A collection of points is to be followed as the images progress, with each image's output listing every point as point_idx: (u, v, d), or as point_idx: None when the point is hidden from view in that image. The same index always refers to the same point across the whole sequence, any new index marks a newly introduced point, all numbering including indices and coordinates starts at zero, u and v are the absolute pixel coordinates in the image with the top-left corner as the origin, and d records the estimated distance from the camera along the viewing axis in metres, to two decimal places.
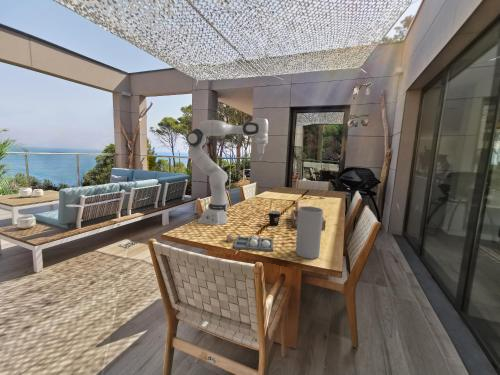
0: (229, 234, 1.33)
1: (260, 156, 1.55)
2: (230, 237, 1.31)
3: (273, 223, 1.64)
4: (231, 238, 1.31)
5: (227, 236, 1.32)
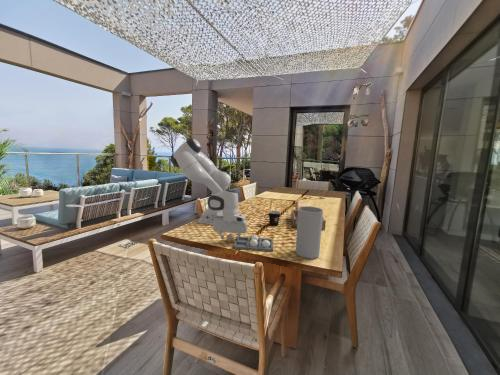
0: (229, 234, 1.33)
1: (239, 235, 1.32)
2: (230, 237, 1.31)
3: (273, 223, 1.64)
4: (231, 238, 1.31)
5: (227, 236, 1.32)
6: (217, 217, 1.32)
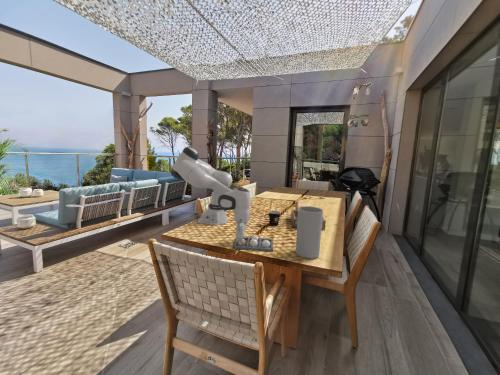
0: None
1: None
2: (244, 240, 1.27)
3: (273, 223, 1.64)
4: None
5: (242, 240, 1.25)
6: (240, 222, 1.17)
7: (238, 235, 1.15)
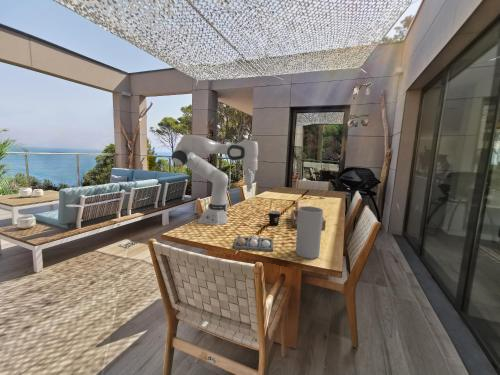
0: None
1: None
2: (244, 240, 1.28)
3: (273, 223, 1.64)
4: None
5: (243, 239, 1.26)
6: (249, 169, 1.23)
7: (247, 180, 1.22)
